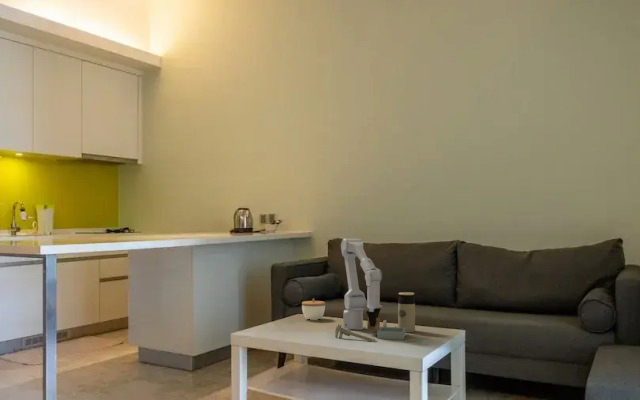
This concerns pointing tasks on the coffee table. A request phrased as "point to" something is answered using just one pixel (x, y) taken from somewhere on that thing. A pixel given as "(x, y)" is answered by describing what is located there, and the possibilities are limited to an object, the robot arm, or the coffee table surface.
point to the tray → (391, 333)
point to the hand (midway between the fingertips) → (373, 325)
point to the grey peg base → (384, 324)
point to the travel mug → (406, 311)
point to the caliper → (349, 332)
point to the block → (375, 324)
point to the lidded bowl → (313, 309)
